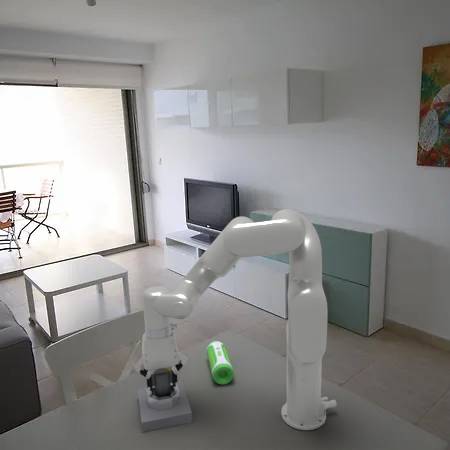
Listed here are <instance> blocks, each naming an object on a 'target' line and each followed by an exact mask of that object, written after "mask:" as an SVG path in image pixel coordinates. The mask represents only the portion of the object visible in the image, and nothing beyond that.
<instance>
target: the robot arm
mask: <svg viewBox="0 0 450 450" xmlns="http://www.w3.org/2000/svg"><path fill="white" fill-rule="evenodd" d="M322 251H323V250H322V244H321V240H320V237H319V234H318V232H317V230H316V228H315V226H314V225H313V223H312V222H311V221H310V220H309V219H308V218H307V217H306V216H305V215H303V214H301V213H300V212H298V211H296V210H293V209H287V208H286V209H285V208H284V209H281V210H278V211H277V212H276V213H274V214H273V216H272V217H271V219H270V220H266V221H259V222H258V221H256V222H254V220H253V219H250V218H249V217H248V216H236V217H234V218H233V219H232V220H230V222H228V223H227V225H226V226H225V227H224V229H223V230H222V231H221V232H220V233H219V234H218V235H217V237H216V238H215V239H214V240H213V242H212V243H211V244H210V245H209V247H207V249H206V250H205V251H204V252H203V254H202V255H200V257H199V258H198V260H197V262H195V264H194V265H193V266H192V267H191V269H190V270H189V271H188V272H187V273H186V275H184V277H183V278H182V279H181V280H180V281H179V283H178V284H177V285H176V286H175V288H174V290H173V291H171V292H170V291H169V289H168V288H167V287H165V286H163V285H162V286H160V285H156V286H155V285H154V286H150V287H148V288H146V289H144V291H143V293H142V306H143V318H144V320H143V321H144V333H143V334H142V338H141V339H142V340H141V357H140V358H138V361H137V362H135V363H134V365H133V370H134V371H136V373H139V374H140V375H141V376H143V377H144V378H145V379H146V386H147V387H146V388H149V387H150V391H152V390H153V387H152V378H151V374H153V370H154V371H155V370H157V369H161V368H166V367H171V368H172V370H171V371H172V373H173V374H172V378H173V383H172V384H173V387H176V383H177V382H179V381H178V374H179V371H180V370H182V368H183V366H184V365H185V364H186V363H187V362H188V357H187V356H186V355H184V353H182V352H181V351H179V350H178V342H177V337H176V332H175V331H174V329H178V325H177V323H174V322H172V319H177V320H186V319H188V318H190V317H191V316H192V315H193V313H194V312H195V309H196V307H197V305H198V303H199V300H200V298H202V296H203V295H204V293H206V291H207V290H209V289H208V288H210V287H211V286H212V284H213V283H214V282H216V280H218V279H220V278H224V277H226V276H227V275H228V274H229V273H230V272H231V271H232V269H233V268H234V267H235V266H236V265H237V263H238V262H239V261H240V260H241V259H242V258H251V257H261V256H262V257H263V256H270V255H271V256H272V255H280V254H286V253H287V254H288V261H289V262H288V265H289V272H288V273H289V274H288V275H289V278H288V289H287V307H288V308H287V309H288V310H287V312H288V313H287V314H288V318H287V322H286V326H285V327H286V328H285V331H286V402H285V403H284V404H283V405H282V407H281V411H280V413H281V414H280V415H281V418H282V420H283V422H285V423H286V424H287V425H288V426H290V427H292V428H294V429H296V430H302V431H311V430H316V429H319V428H321V427H322V426H323V425H324V424H325V423H326V420H327V413H326V411H327V409H332V408H336V407H337V405H338V404H337V401H336V399H331V400H329V398H328V396H323V397H322V365H323V364H322V362H323V361H322V360H323V356H324V354H325V353H326V349H327V339H328V338H327V337H328V336H327V334H328V301H327V297H326V294H325V290H324V287H323V257H322V256H323V255H322V254H323V253H322ZM142 365H143V367H142Z"/></svg>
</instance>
